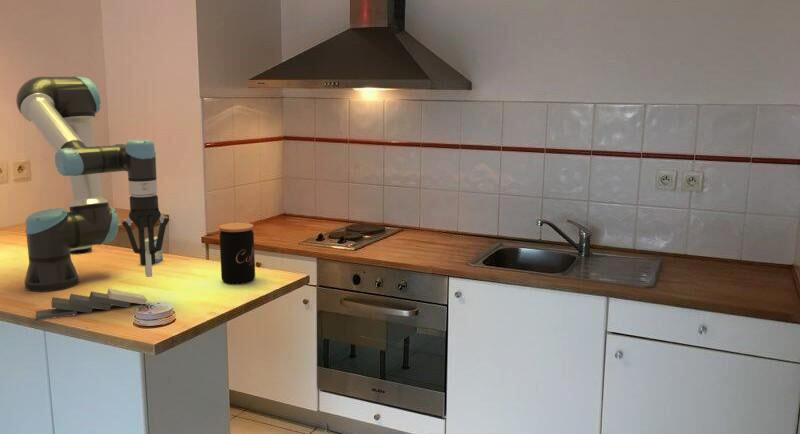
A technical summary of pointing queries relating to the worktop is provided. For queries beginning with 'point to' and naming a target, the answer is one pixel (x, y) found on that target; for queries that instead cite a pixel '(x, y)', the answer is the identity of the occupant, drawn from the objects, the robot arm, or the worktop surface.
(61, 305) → the domino
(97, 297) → the domino
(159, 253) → the medicine box
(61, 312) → the domino
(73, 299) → the domino
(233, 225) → the coffee jar
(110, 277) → the worktop surface
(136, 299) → the domino
